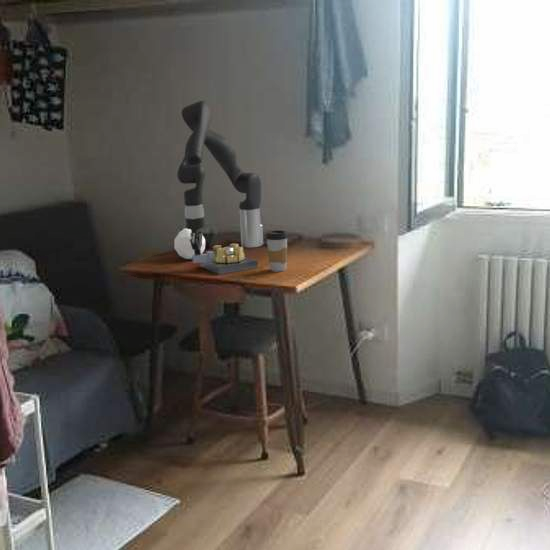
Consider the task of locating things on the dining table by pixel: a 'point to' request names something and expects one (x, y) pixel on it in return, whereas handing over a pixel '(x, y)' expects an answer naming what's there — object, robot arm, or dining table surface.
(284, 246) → the coffee cup
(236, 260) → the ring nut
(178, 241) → the geodesic sphere
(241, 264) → the housing
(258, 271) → the dining table surface
